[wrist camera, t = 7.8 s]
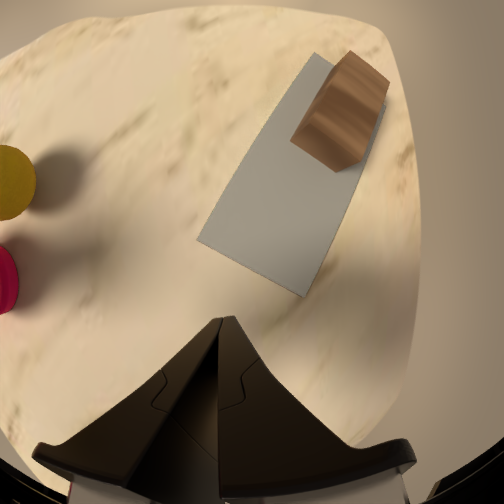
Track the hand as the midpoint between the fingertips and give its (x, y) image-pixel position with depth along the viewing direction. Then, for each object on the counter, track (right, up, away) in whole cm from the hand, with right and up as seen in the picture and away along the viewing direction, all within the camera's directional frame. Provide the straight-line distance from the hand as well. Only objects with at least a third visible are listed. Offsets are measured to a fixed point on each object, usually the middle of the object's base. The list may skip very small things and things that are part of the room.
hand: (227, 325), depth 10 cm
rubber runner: (+6, +11, +13) cm, 18 cm away
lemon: (-18, +8, +7) cm, 21 cm away
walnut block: (+7, +11, +10) cm, 17 cm away
